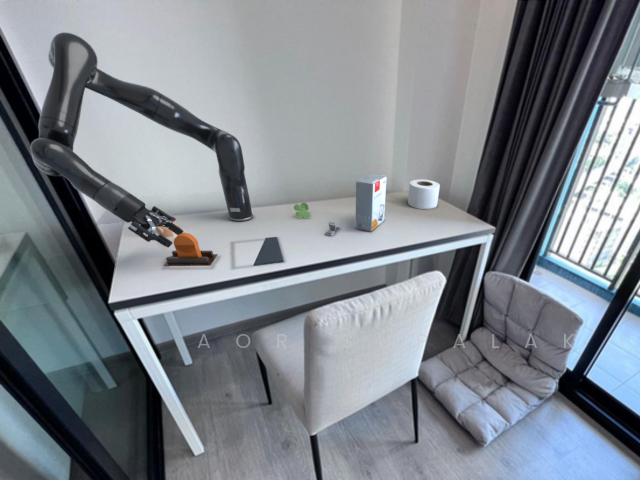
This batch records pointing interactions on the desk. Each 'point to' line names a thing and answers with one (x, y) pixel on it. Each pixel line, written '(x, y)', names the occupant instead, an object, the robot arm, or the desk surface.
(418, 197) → the white paper roll
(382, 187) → the hard drive box
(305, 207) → the green clover
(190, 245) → the orange curved block
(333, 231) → the strap clip
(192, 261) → the holder
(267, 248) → the felt mat
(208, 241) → the desk surface
